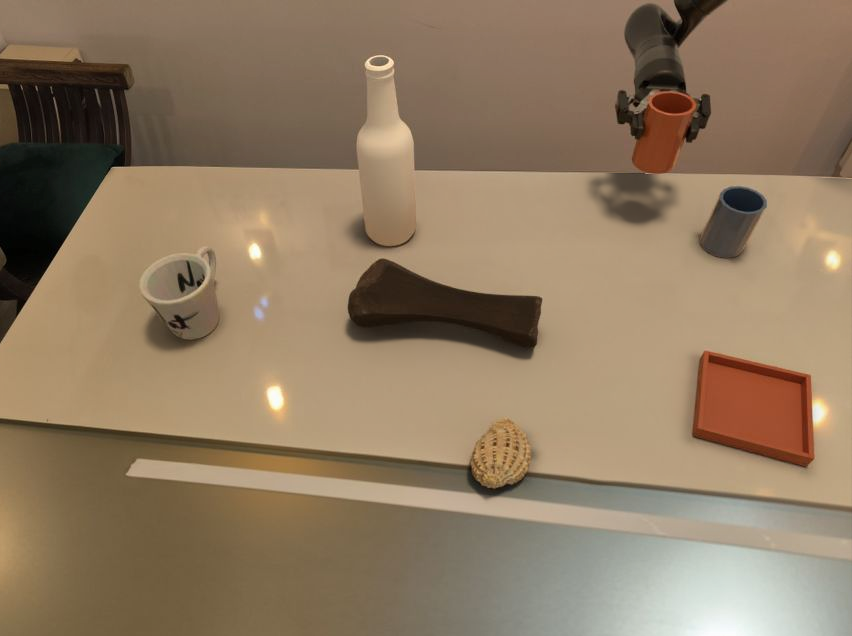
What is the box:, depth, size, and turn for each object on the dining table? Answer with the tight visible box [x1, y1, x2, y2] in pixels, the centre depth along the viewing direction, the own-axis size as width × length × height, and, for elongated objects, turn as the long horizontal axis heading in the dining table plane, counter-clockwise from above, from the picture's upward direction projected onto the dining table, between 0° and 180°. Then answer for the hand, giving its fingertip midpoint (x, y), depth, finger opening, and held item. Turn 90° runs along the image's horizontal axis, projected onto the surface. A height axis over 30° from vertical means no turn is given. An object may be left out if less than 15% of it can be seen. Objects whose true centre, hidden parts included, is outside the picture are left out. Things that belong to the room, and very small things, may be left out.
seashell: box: [470, 417, 532, 490], centre depth 76 cm, size 8×6×10 cm
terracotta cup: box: [631, 91, 696, 175], centre depth 93 cm, size 7×7×10 cm
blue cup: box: [699, 185, 768, 259], centre depth 96 cm, size 7×7×9 cm
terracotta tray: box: [692, 350, 815, 467], centre depth 79 cm, size 13×13×2 cm
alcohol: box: [355, 54, 417, 247], centre depth 94 cm, size 9×9×30 cm
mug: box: [138, 245, 220, 341], centre depth 93 cm, size 10×15×10 cm
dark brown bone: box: [347, 258, 543, 349], centre depth 90 cm, size 11×10×28 cm
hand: (665, 135), depth 91 cm, fingers closed on terracotta cup, 7 cm apart
